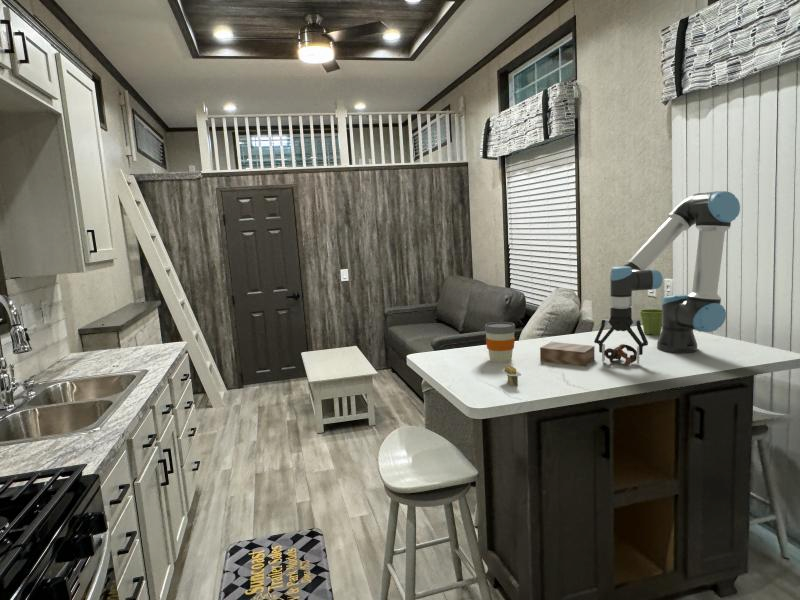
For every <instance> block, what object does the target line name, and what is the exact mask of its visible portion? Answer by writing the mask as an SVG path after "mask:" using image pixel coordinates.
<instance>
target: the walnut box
mask: <svg viewBox="0 0 800 600" xmlns="http://www.w3.org/2000/svg"><path fill="white" fill-rule="evenodd" d="M539 350H540V351H539V354H540V355H539V357H540V358H539V359H540V360H539V361H540V362H542V363H544V362H545V363H550V362H551V363H552V364H559V365H560V364H561V365H570V366H576V367H583V366H584V367H587V364H588V365H589V364H590V363H592V362H593V361H594V360H595V345H587V344H578V343H577V344H576V343H568V342H567V343H566V342H558V341H557V342H556V341H550V342H548V343H547V344H545V345H542V346H540V347H539Z"/></svg>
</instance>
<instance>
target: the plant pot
mask: <svg viewBox="0 0 800 600" xmlns="http://www.w3.org/2000/svg"><path fill="white" fill-rule="evenodd" d="M638 311H639V312H640V313H639V314H640V317H641V320H642V322H641V323H642V328H643V329H642V330H643V332H644V335H652V336H656V335H657V336H658V335H659V336H660V334H661V332H662V309H658V308H657V309H656V308H644V309H640V310H638Z"/></svg>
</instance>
